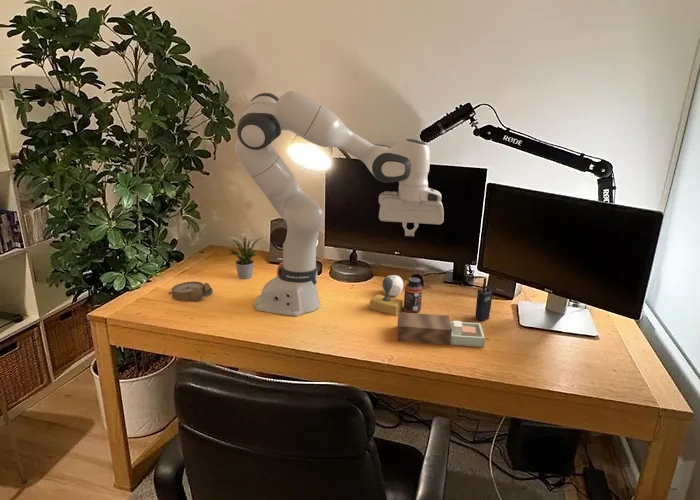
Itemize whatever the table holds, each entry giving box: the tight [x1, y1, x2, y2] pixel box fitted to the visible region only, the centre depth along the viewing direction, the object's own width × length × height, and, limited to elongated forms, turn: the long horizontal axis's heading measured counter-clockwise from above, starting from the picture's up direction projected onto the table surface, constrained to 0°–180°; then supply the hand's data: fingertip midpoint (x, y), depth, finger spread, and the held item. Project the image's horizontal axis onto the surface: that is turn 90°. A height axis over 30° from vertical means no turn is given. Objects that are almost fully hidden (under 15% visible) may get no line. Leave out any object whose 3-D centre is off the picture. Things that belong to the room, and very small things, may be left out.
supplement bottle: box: [403, 277, 423, 314], centre depth 184 cm, size 6×6×11 cm
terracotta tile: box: [462, 326, 476, 337], centre depth 167 cm, size 4×4×2 cm
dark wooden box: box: [396, 311, 452, 346], centre depth 167 cm, size 16×10×5 cm, turn 85°
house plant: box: [224, 235, 263, 280], centre depth 209 cm, size 14×14×16 cm
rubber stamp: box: [369, 276, 404, 316], centre depth 184 cm, size 10×6×12 cm, turn 62°
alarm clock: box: [168, 281, 214, 303], centre depth 190 cm, size 11×5×15 cm
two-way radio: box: [474, 277, 493, 322], centre depth 179 cm, size 6×4×15 cm
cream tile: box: [452, 320, 463, 336], centre depth 167 cm, size 4×4×2 cm
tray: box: [450, 320, 486, 348], centre depth 167 cm, size 10×10×3 cm
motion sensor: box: [381, 274, 404, 297], centre depth 196 cm, size 8×8×8 cm
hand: (409, 235), depth 170 cm, fingers closed
